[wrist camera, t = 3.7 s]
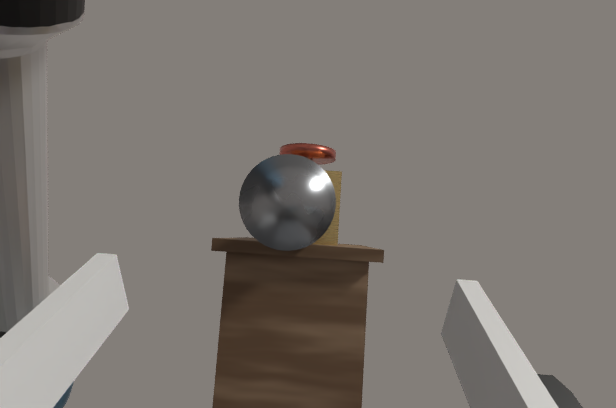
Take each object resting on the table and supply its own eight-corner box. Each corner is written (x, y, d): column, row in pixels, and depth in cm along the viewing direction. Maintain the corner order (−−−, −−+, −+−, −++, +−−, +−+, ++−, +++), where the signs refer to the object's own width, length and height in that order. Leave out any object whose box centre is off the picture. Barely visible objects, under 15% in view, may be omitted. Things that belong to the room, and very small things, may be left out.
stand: (364, 666, 24) (383, 250, 27) (173, 646, 25) (212, 238, 27) (346, 509, 38) (360, 245, 41) (225, 498, 39) (247, 237, 41)
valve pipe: (360, 255, 15) (371, 50, 16) (207, 245, 15) (227, 43, 16) (332, 243, 39) (337, 161, 40) (273, 239, 39) (279, 157, 40)
